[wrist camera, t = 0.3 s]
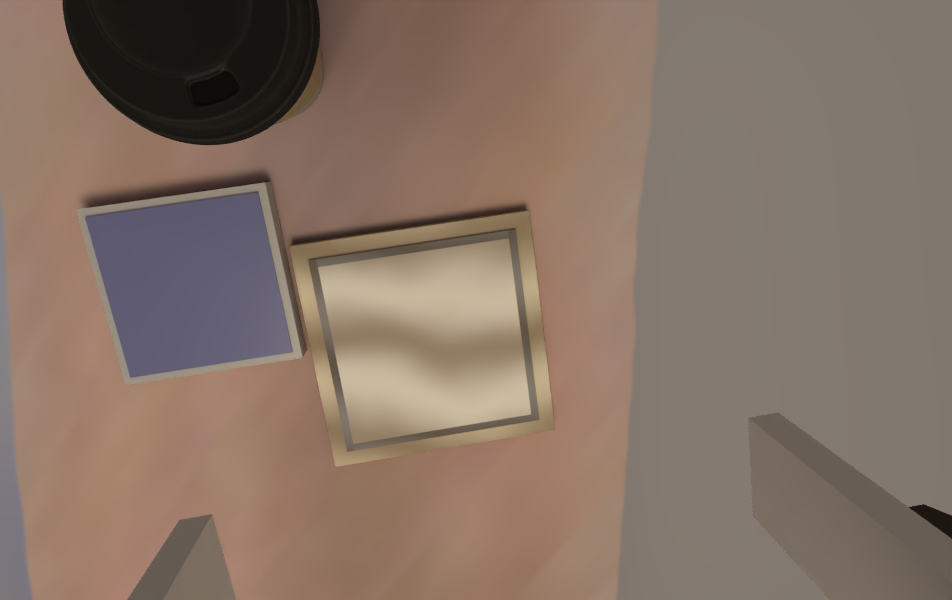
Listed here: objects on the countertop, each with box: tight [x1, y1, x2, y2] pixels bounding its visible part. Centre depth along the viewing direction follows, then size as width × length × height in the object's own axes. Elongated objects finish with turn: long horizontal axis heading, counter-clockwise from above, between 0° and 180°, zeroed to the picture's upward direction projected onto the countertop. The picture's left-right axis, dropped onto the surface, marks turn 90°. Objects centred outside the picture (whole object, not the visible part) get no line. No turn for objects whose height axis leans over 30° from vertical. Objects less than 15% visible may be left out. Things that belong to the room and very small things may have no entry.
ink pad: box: [76, 182, 307, 386], centre depth 39 cm, size 11×11×2 cm
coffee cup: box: [63, 0, 323, 145], centre depth 30 cm, size 9×9×15 cm
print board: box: [289, 210, 555, 467], centre depth 41 cm, size 15×15×1 cm
